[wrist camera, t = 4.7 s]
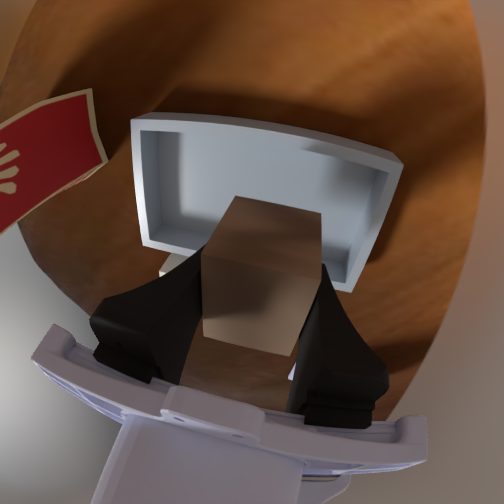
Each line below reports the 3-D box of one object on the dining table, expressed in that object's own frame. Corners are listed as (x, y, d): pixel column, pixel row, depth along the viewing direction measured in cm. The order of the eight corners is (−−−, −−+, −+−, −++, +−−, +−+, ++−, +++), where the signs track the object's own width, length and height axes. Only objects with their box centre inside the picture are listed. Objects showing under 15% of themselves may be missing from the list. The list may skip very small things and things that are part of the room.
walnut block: (321, 213, 13) (321, 280, 10) (298, 288, 17) (289, 356, 13) (235, 195, 14) (201, 253, 10) (229, 273, 17) (203, 335, 13)
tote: (392, 152, 16) (403, 164, 14) (349, 270, 23) (351, 292, 21) (151, 112, 18) (130, 119, 16) (157, 228, 25) (142, 245, 22)
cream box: (216, 253, 25) (202, 282, 22) (215, 283, 28) (203, 312, 24) (177, 244, 25) (159, 271, 22) (180, 274, 28) (164, 301, 25)
